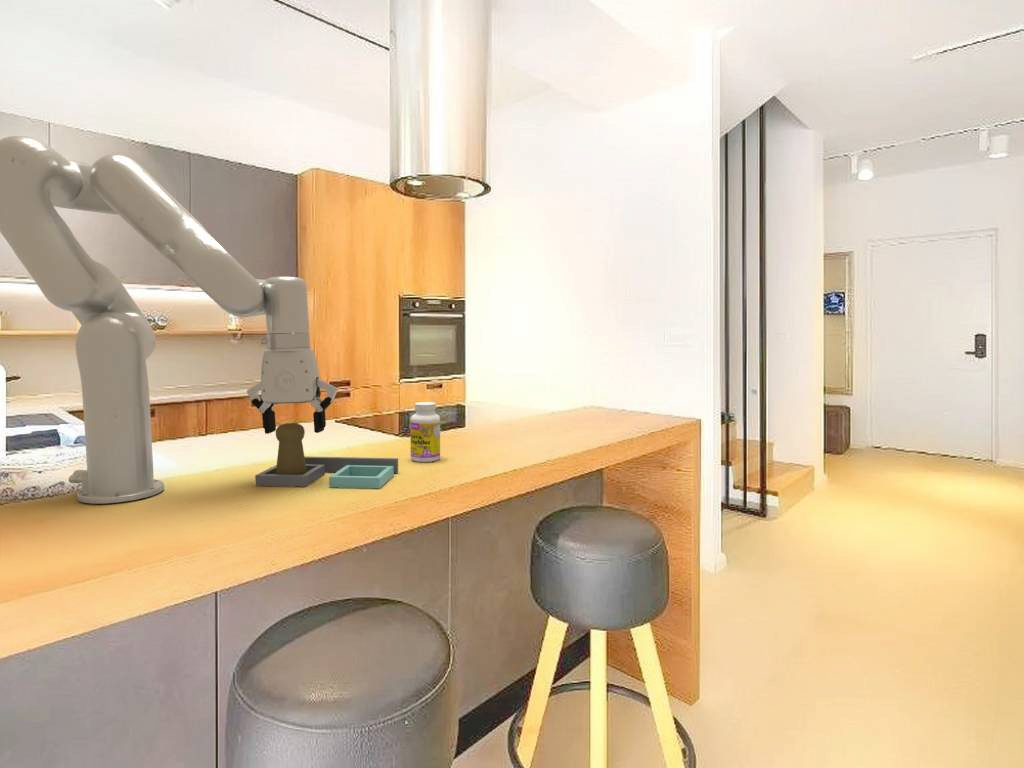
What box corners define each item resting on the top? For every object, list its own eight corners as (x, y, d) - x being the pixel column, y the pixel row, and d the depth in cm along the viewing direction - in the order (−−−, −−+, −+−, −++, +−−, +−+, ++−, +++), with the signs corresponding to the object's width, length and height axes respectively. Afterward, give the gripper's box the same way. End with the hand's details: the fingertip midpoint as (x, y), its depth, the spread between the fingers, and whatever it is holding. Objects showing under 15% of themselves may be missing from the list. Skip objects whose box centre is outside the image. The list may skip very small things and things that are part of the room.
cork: (297, 485, 108) (295, 426, 107) (268, 483, 109) (266, 425, 108) (314, 477, 114) (312, 422, 113) (286, 475, 115) (285, 420, 114)
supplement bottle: (404, 461, 128) (404, 404, 127) (420, 455, 134) (419, 400, 133) (431, 464, 126) (430, 405, 125) (445, 458, 132) (445, 402, 131)
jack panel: (254, 485, 107) (253, 470, 107) (283, 470, 119) (283, 456, 119) (381, 488, 106) (381, 472, 105) (398, 472, 118) (398, 458, 118)
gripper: (234, 344, 106) (241, 436, 108) (326, 342, 105) (331, 435, 107) (254, 343, 113) (260, 429, 115) (340, 341, 112) (345, 427, 114)
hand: (294, 432), depth 111 cm, fingers open, 9 cm apart
